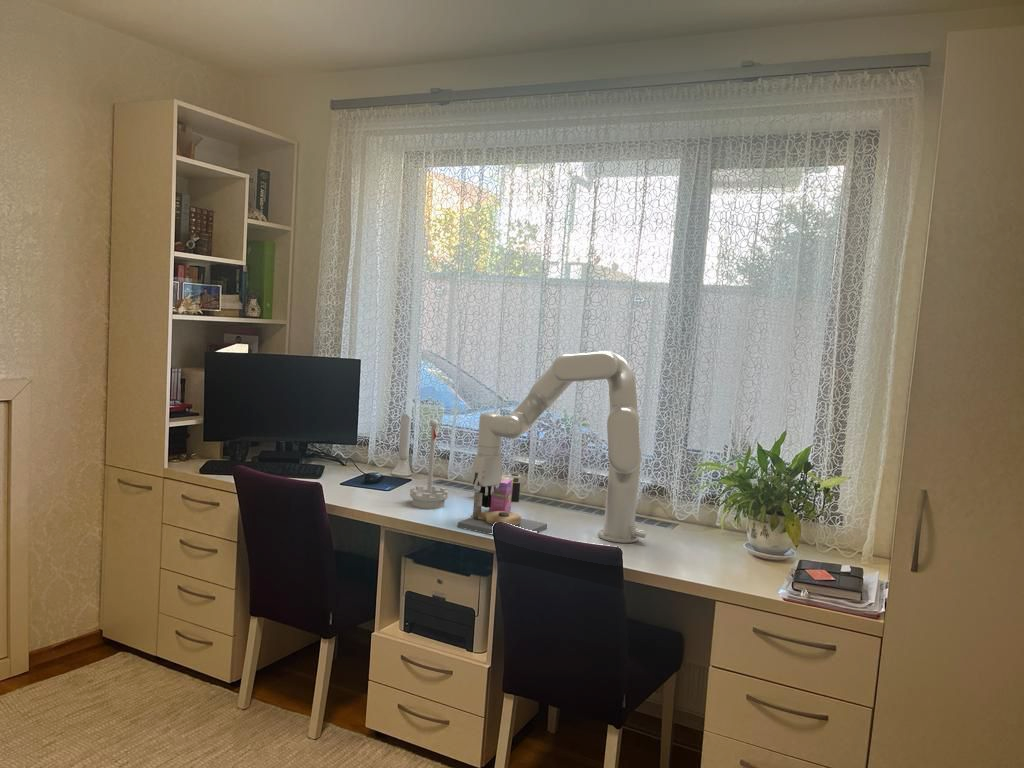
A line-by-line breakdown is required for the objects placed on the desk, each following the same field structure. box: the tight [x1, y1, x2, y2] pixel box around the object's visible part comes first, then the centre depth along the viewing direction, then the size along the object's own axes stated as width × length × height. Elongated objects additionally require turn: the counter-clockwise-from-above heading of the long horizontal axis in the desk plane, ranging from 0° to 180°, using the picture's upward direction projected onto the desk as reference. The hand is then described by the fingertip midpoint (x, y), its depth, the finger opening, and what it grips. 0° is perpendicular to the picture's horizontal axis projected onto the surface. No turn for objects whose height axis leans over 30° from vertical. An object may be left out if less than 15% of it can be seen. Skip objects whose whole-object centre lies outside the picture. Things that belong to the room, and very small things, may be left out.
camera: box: [502, 472, 522, 503], centre depth 293 cm, size 14×8×10 cm, turn 94°
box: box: [488, 476, 513, 512], centre depth 274 cm, size 10×6×12 cm, turn 168°
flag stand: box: [409, 418, 449, 510], centre depth 278 cm, size 13×13×30 cm
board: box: [457, 510, 548, 534], centre depth 257 cm, size 22×21×2 cm
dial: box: [472, 491, 522, 526], centre depth 256 cm, size 16×11×8 cm
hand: (485, 506), depth 262 cm, fingers closed
